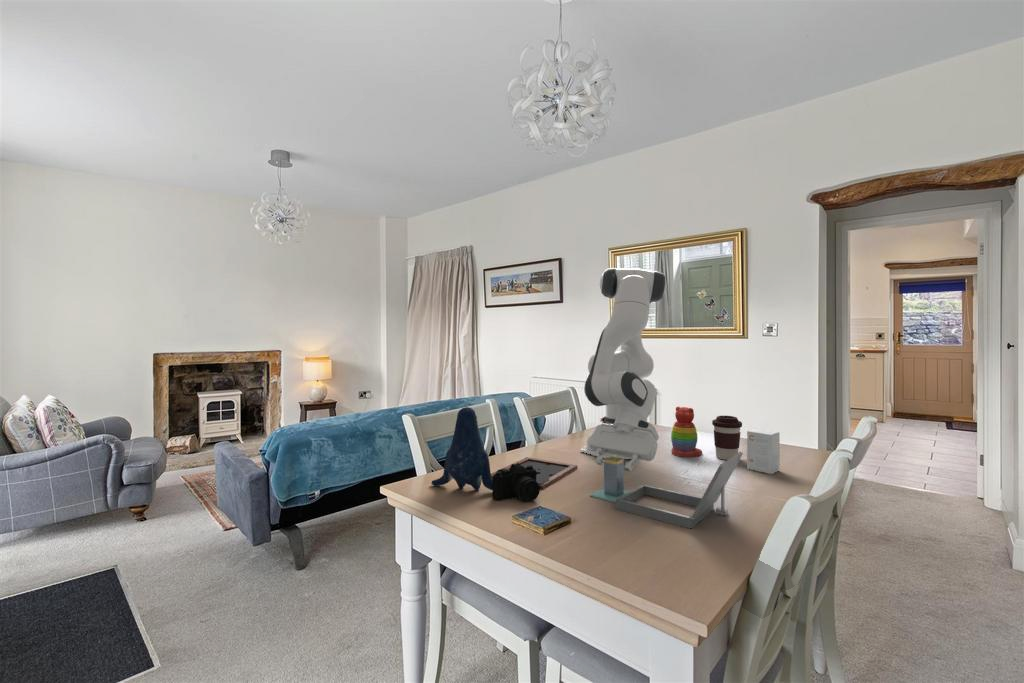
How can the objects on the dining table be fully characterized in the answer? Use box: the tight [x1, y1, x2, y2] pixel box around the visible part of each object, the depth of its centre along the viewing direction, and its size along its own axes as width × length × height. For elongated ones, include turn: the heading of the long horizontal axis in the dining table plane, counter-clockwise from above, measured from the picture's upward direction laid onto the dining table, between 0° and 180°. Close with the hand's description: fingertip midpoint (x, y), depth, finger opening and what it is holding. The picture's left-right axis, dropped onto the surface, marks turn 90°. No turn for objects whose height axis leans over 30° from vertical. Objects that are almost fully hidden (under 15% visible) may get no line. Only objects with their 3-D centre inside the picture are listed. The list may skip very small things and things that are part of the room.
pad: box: [589, 487, 631, 504], centre depth 139 cm, size 10×10×1 cm
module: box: [603, 457, 625, 497], centre depth 139 cm, size 4×4×10 cm
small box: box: [746, 428, 781, 475], centre depth 162 cm, size 8×6×13 cm
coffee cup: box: [711, 415, 743, 461], centre depth 177 cm, size 10×10×15 cm
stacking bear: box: [670, 406, 703, 458], centre depth 183 cm, size 11×10×18 cm
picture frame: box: [491, 456, 578, 491], centre depth 160 cm, size 20×2×25 cm
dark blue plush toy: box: [431, 406, 493, 492], centre depth 144 cm, size 25×11×25 cm, turn 71°
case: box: [615, 451, 744, 529], centre depth 126 cm, size 27×16×16 cm, turn 49°
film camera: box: [492, 463, 541, 502], centre depth 138 cm, size 15×10×9 cm, turn 121°
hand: (612, 466), depth 138 cm, fingers open, 8 cm apart
